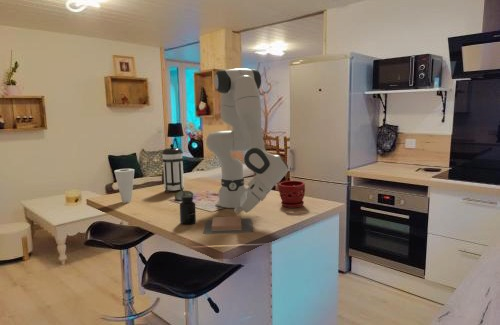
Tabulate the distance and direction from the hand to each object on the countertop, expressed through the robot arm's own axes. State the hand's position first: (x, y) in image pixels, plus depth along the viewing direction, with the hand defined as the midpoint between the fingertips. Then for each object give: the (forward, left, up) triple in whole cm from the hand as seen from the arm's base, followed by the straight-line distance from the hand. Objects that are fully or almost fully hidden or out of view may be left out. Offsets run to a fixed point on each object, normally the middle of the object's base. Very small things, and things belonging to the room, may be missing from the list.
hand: (235, 212), depth 143 cm
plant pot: (-30, +29, -7) cm, 42 cm away
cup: (-51, -61, -7) cm, 80 cm away
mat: (0, -3, -6) cm, 7 cm away
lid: (-53, -29, -7) cm, 61 cm away
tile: (0, +2, -5) cm, 5 cm away
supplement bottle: (-8, -21, -7) cm, 23 cm away
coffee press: (-74, -38, -7) cm, 83 cm away
